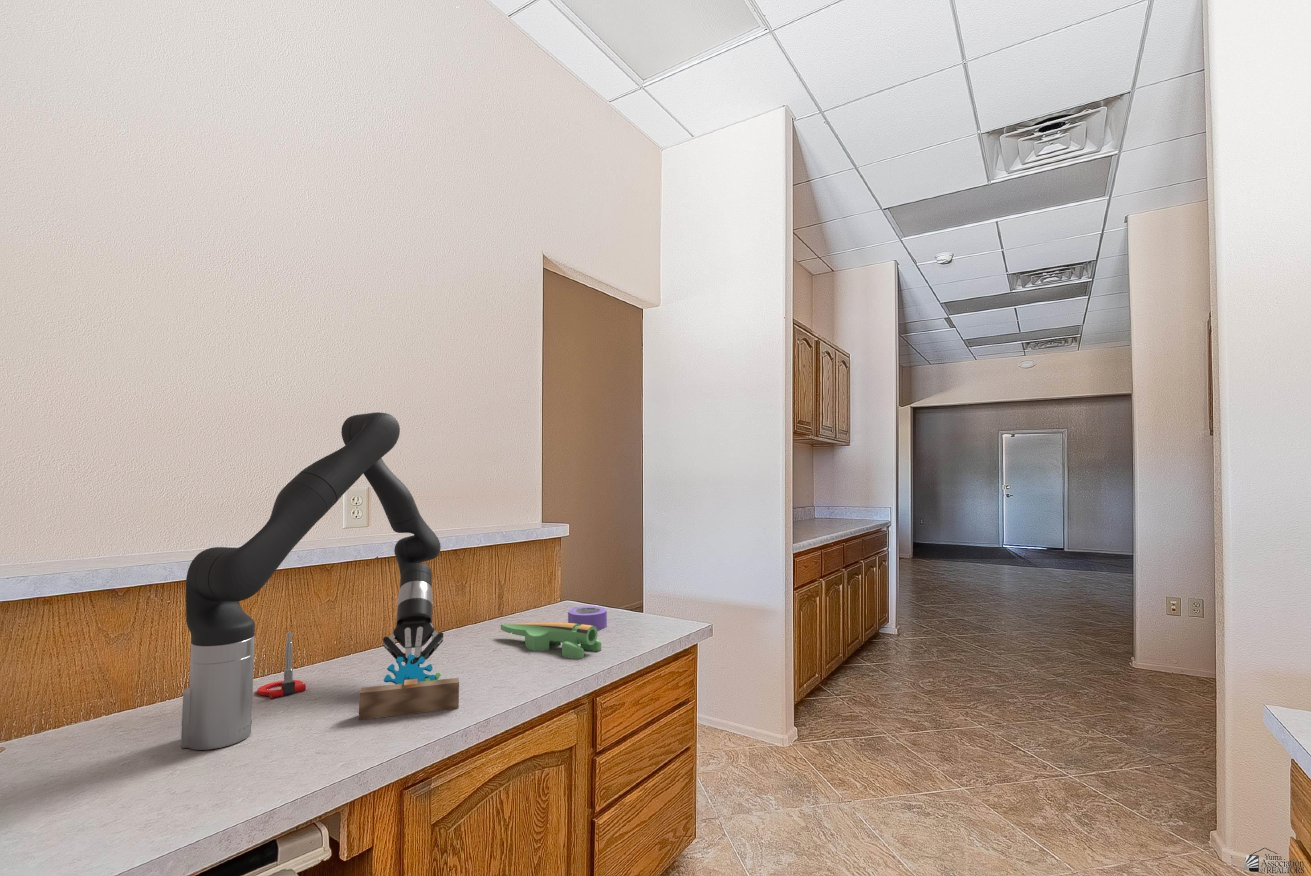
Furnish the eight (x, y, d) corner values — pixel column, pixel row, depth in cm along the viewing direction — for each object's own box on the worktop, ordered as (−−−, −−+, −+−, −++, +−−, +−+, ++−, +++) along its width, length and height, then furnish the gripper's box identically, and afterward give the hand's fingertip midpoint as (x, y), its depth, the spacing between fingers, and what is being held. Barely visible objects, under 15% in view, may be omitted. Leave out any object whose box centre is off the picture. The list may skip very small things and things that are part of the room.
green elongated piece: (487, 642, 171) (487, 615, 171) (514, 634, 180) (514, 608, 180) (579, 660, 154) (579, 630, 155) (603, 649, 164) (604, 621, 164)
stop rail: (358, 720, 116) (359, 689, 117) (360, 713, 120) (361, 684, 120) (458, 708, 122) (459, 679, 123) (458, 702, 126) (458, 674, 126)
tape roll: (582, 633, 180) (582, 616, 180) (560, 626, 189) (560, 609, 189) (614, 627, 188) (614, 610, 188) (592, 620, 196) (592, 604, 197)
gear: (383, 701, 121) (387, 652, 127) (376, 712, 125) (380, 663, 131) (440, 700, 127) (441, 653, 133) (432, 711, 130) (433, 664, 136)
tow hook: (251, 692, 132) (266, 700, 127) (253, 631, 134) (268, 636, 128) (294, 682, 139) (310, 690, 133) (295, 624, 140) (311, 628, 134)
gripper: (383, 598, 137) (376, 671, 125) (445, 594, 141) (445, 665, 129) (384, 617, 142) (378, 689, 130) (445, 612, 146) (445, 682, 134)
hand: (412, 677), depth 129 cm, fingers closed
